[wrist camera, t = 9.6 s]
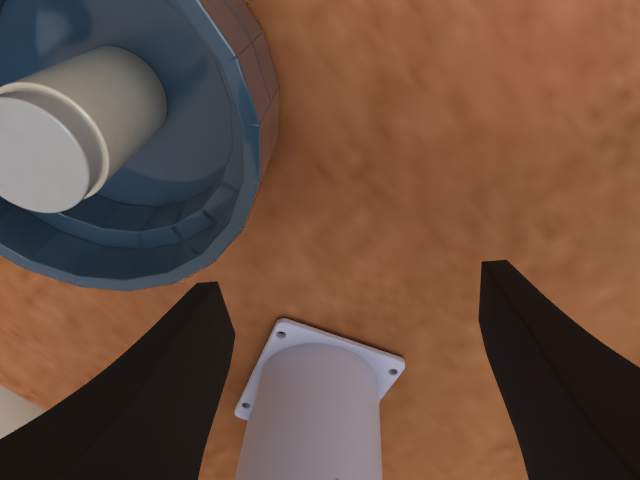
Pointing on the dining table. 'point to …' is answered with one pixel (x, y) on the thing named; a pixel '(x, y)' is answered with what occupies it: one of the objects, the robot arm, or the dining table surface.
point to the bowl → (163, 149)
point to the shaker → (75, 126)
